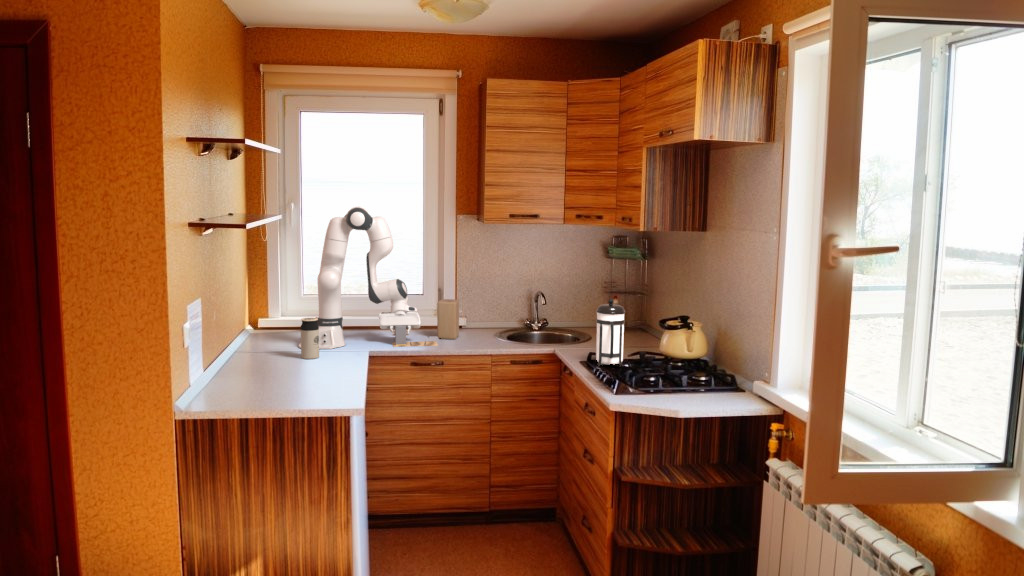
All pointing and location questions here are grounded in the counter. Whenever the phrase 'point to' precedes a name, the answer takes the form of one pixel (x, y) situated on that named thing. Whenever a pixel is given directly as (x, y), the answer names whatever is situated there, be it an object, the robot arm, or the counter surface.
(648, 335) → the counter surface
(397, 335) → the block
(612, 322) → the coffee press
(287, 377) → the counter surface
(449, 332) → the wooden block
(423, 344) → the board
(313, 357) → the travel mug
